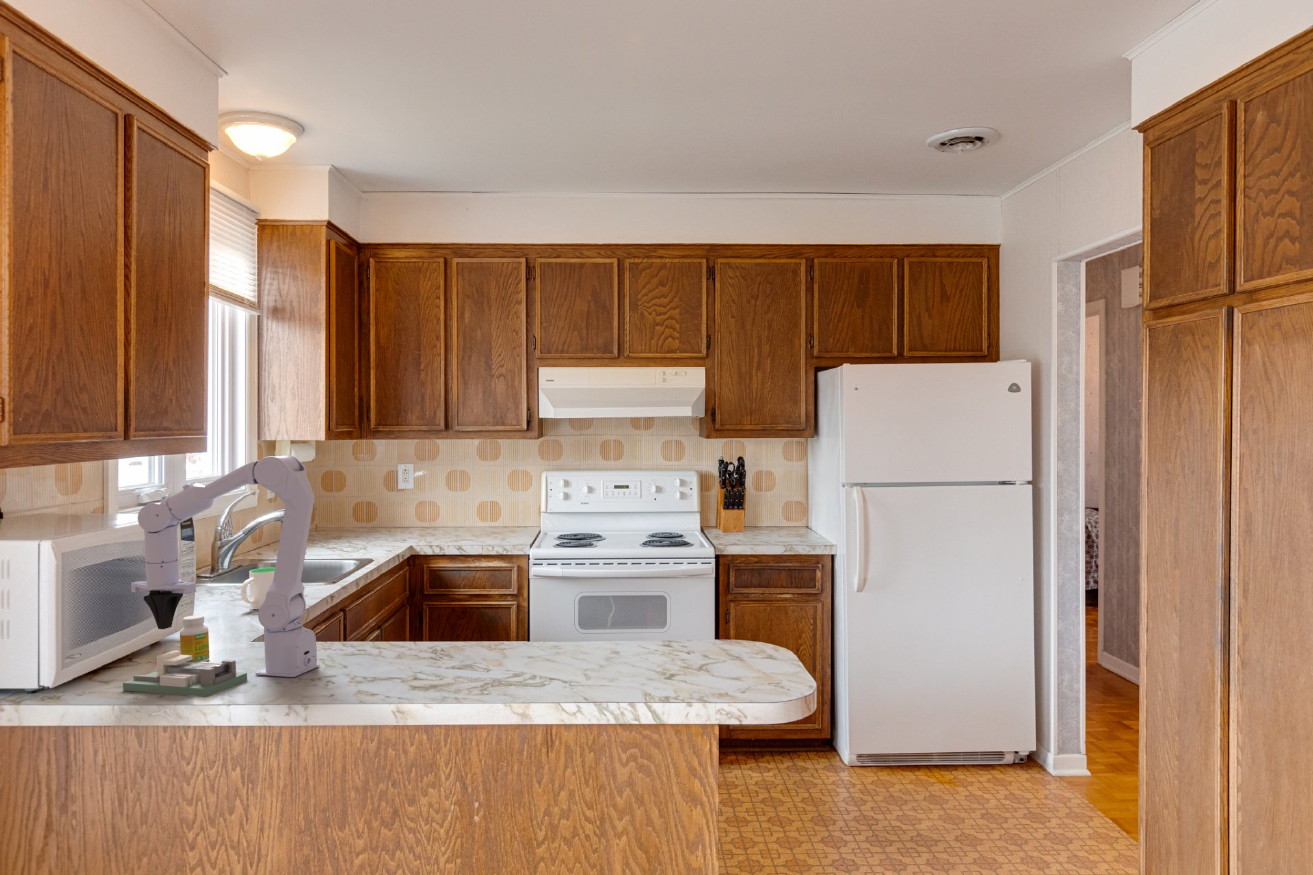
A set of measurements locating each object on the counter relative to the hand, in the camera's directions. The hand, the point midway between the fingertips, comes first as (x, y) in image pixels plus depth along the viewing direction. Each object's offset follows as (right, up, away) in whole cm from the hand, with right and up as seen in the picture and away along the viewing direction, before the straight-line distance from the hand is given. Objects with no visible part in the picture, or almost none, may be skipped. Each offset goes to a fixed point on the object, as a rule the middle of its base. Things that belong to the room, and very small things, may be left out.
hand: (164, 628), depth 167 cm
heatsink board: (+8, -10, -6) cm, 14 cm away
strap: (+11, -7, -7) cm, 15 cm away
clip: (+5, -8, -5) cm, 11 cm away
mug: (-11, -9, +64) cm, 66 cm away
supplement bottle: (0, -10, +11) cm, 15 cm away
